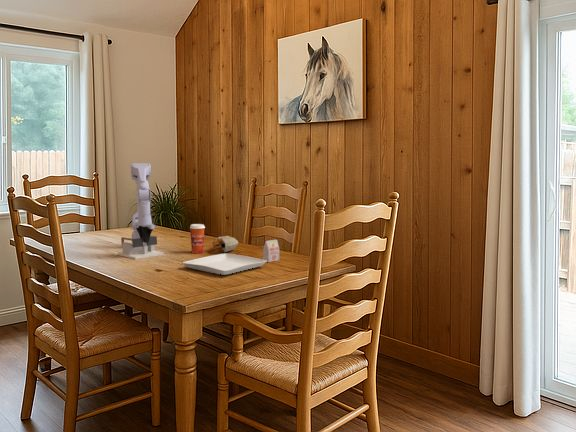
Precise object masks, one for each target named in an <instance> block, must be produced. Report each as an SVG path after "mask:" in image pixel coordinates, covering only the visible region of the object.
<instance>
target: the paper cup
mask: <svg viewBox="0 0 576 432" xmlns="http://www.w3.org/2000/svg"><path fill="white" fill-rule="evenodd" d="M205 228H206V226H205V224H204V223H203V224H202V223H192V224H190V227H189V229H190V243H191V246H190V247H191V254H195V255H196V254H203V253H204V247H205V245H204V244H205Z"/></svg>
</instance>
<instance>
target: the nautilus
mask: <svg viewBox="0 0 576 432" xmlns="http://www.w3.org/2000/svg"><path fill="white" fill-rule="evenodd" d="M209 244H210V246H208V247H213V248H210V249H208V250H206V251H211V250H214V251H211V252H209V254H212V255H217V254H222V253H228V252H230V251H233V250H234V249H235V248H236V247H237V246H238V244H239V241H238V240H237V239H236V238H235V237H233V236H229V235H225V236H224V235H223V236H218V237H217V238H215V239H214V240H213V241H211V242H210V243H209Z"/></svg>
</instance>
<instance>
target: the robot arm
mask: <svg viewBox="0 0 576 432" xmlns="http://www.w3.org/2000/svg"><path fill="white" fill-rule="evenodd" d="M151 174H152V167H151V163H150V162H148V163H147V162H145V163H140V162H139V163H138V162H134V163H133V162H131V163H130V177H131V179H132V180H133V181H135V185H136V203H137V204H136V206H137V208H136V209H137V211H136V212H135V213H134V214H133V215H132V220H131V226H132V227H131V229H132V233H131V239H138V238H143V239H144V243H148V242H149V238H150V235H151V234H152V233H153V231H154V230H155V228H156V224H153V222H152V221H153V220H152V215H151V201H152V192H151V191H152V190H151V188H150V185H149V181H148V180H150V177H151ZM151 236H152V235H151ZM131 243H133V241H131Z"/></svg>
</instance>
